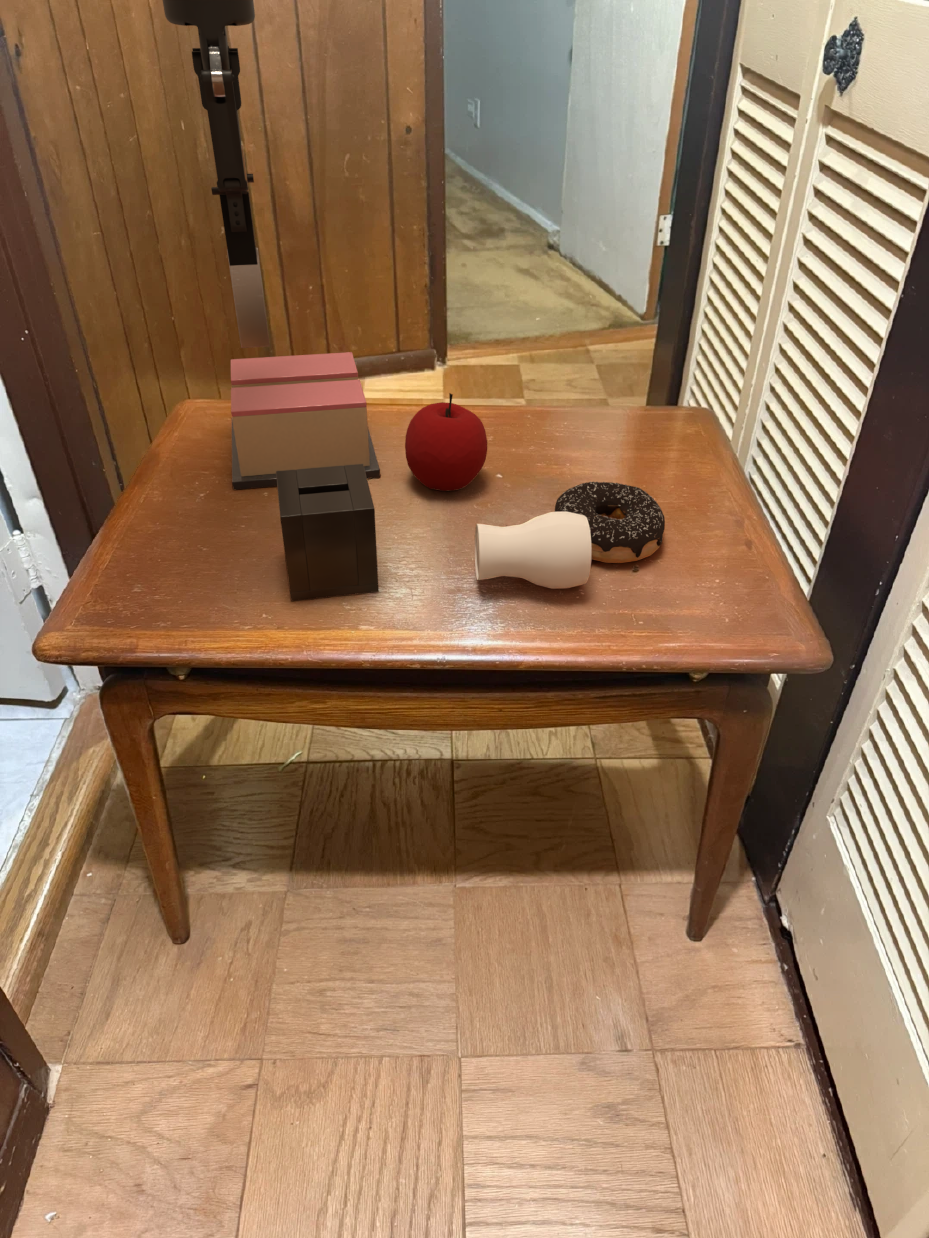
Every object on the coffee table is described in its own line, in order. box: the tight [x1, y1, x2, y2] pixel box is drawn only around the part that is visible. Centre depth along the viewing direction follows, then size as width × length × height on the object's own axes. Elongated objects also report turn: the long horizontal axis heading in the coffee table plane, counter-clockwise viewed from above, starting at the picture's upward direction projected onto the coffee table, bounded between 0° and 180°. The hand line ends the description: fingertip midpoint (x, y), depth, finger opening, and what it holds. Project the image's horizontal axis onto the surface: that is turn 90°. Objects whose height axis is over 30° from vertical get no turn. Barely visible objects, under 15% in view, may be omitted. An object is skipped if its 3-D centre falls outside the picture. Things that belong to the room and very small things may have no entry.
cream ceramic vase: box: [474, 511, 592, 590], centre depth 79 cm, size 7×7×10 cm
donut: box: [553, 480, 666, 564], centre depth 87 cm, size 11×12×4 cm
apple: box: [404, 392, 488, 492], centre depth 93 cm, size 9×9×10 cm
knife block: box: [276, 464, 380, 602], centre depth 79 cm, size 8×8×9 cm
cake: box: [230, 351, 381, 491], centre depth 98 cm, size 16×16×9 cm
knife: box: [226, 144, 271, 349], centre depth 86 cm, size 3×2×19 cm, turn 102°
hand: (243, 259), depth 87 cm, fingers closed on knife, 2 cm apart
